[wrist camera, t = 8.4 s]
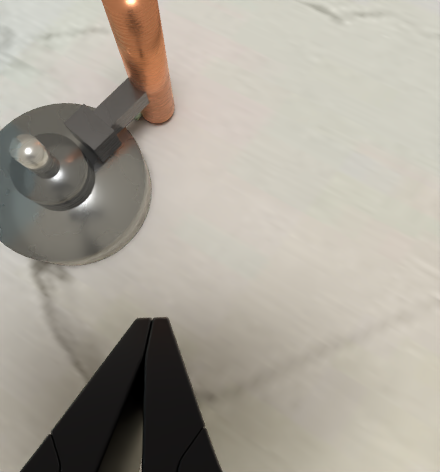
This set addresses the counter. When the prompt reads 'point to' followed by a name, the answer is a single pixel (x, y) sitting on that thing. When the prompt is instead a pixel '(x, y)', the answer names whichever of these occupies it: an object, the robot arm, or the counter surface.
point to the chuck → (68, 190)
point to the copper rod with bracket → (129, 79)
